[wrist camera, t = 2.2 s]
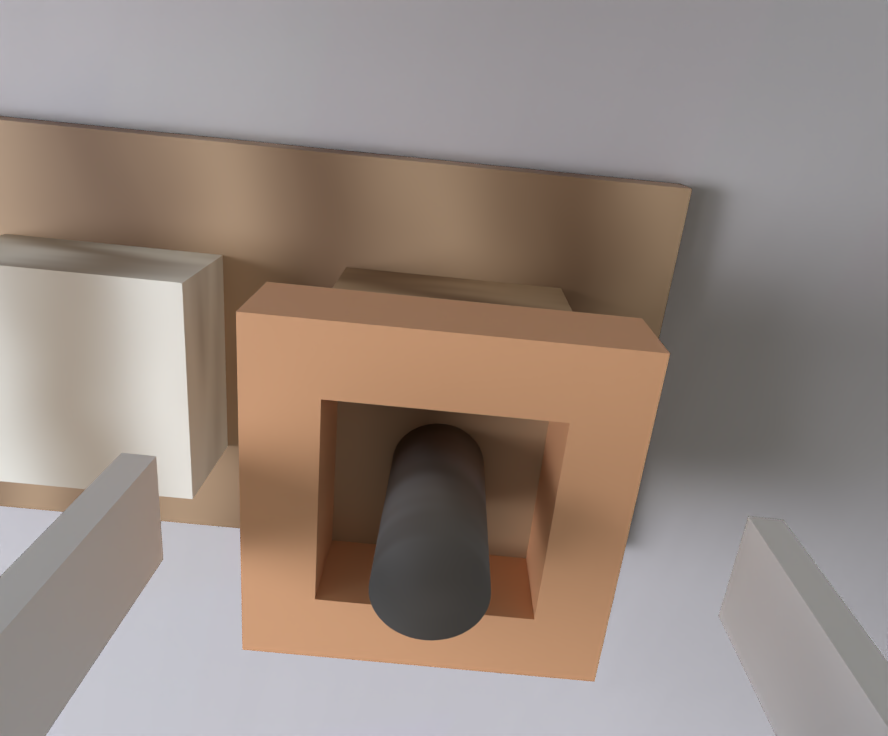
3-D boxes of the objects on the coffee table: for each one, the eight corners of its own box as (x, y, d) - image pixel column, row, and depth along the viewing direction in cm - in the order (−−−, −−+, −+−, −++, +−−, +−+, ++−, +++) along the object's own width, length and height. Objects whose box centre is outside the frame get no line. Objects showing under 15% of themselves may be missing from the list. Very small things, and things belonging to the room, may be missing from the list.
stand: (-2, 487, 27) (-332, 768, 16) (-66, 109, 22) (-624, 129, 11) (602, 543, 28) (701, 858, 16) (680, 183, 22) (905, 280, 11)
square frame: (267, 586, 20) (242, 649, 18) (266, 281, 16) (235, 311, 14) (579, 615, 20) (594, 681, 18) (642, 318, 17) (670, 353, 14)
